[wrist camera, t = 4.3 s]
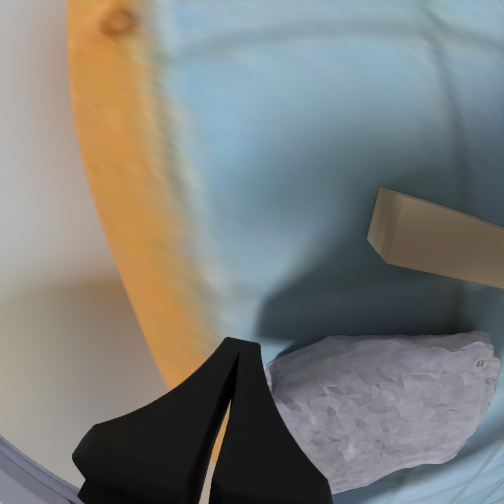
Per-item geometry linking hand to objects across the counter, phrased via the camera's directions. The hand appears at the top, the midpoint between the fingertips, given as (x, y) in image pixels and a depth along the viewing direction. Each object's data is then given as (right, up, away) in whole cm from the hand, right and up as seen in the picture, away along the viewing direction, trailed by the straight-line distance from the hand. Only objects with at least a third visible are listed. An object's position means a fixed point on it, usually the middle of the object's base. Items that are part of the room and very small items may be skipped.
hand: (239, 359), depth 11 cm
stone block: (+7, -3, +2) cm, 8 cm away
